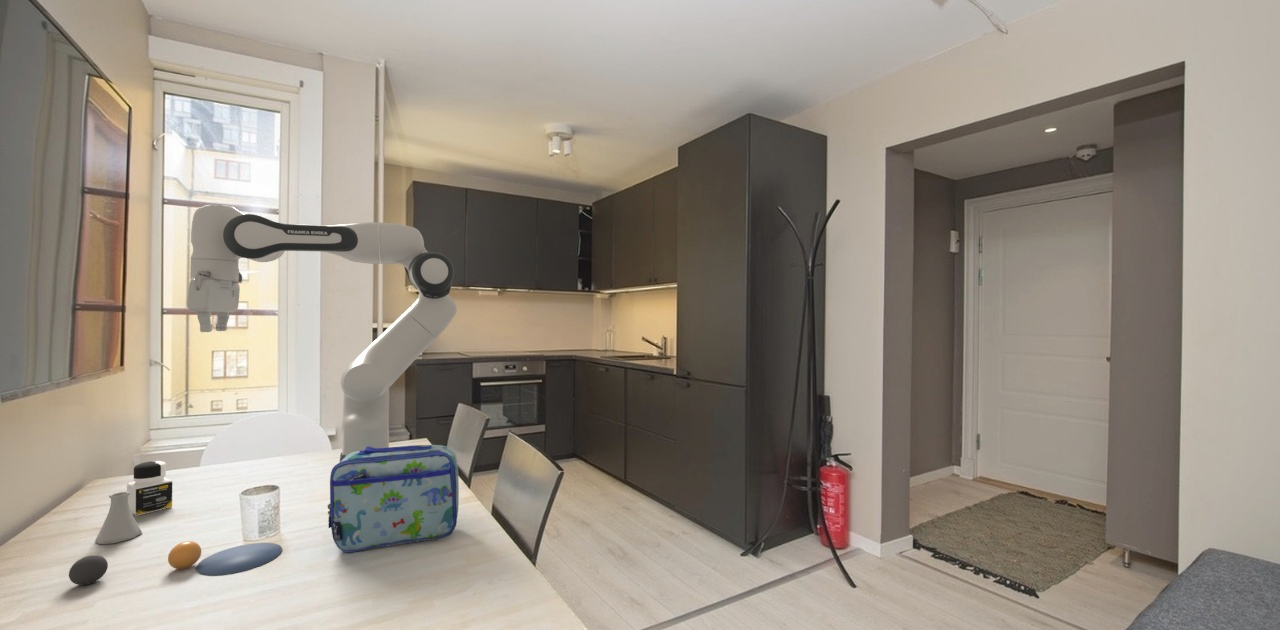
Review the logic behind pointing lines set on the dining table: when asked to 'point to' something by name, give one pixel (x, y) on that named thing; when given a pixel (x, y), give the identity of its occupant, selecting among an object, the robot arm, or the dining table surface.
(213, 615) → the dining table surface
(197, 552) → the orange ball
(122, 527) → the flask
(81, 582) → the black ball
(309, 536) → the dining table surface
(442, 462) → the lunch box
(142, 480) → the medicine bottle
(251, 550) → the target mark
